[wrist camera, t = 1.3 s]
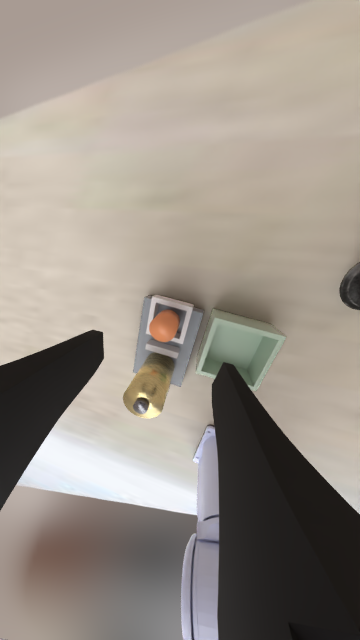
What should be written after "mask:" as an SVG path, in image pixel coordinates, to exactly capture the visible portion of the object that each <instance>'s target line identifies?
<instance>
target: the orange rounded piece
mask: <svg viewBox="0 0 360 640" xmlns="http://www.w3.org/2000/svg"><path fill="white" fill-rule="evenodd" d="M179 325H180V318H179V316H178V315H177V313H175V312H174V311H172V310H163V311H161V312H160V313H159V314H158V315H157V316H156V317H155V318H154V319H153V320H152V321H151V323H150V325H149V331H150V333H151V335H152V337H153V338H154V339H156V340H158V341H160V342H168V341H170V340H172V339H173V338H174V336H175V334H176V332H177V330H178V327H179Z"/></svg>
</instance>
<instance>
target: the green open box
mask: <svg viewBox="0 0 360 640" xmlns="http://www.w3.org/2000/svg"><path fill="white" fill-rule="evenodd" d="M285 339H286V336H285V335H283V334H282V333H281V332H280V331H279V330H278V329H276V328H275V327H274V326H273V325H272V324H269V323H265V322H262V321H258V320H254V319H251V318H247V317H243V316H240V315H236V314H232V313H228V312H225V311H221V310H217V309H214V308H213V309H212V312H211V315H210V318H209V321H208V325H207V328H206V331H205V334H204V337H203V340H202V343H201V346H200V349H199V352H198V355H197V363H196V373H197V374H200V375H204V376H207V377H210V378H214V379H215V378H216V376H217V374H218V372H219V370H220V368H221V366H222V364H223V362H226V363H230V364H234V366H235V367H236V369H237V370H238V372H239V373H240V375H241V376H242V378H243V379H244V381H245V382H246V383H247V385H248V386H249V388H250V389H251V390H253V391H257V389H258V387H259V386H260V384H261V382H262V380H263V378H264V377H265V375H266V373H267V371H268V369H269V368H270V366H271V364H272V362H273V360H274V359H275V357H276V355H277V353H278V351H279V350H280V348H281V346H282V344H283V342H284V341H285Z"/></svg>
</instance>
